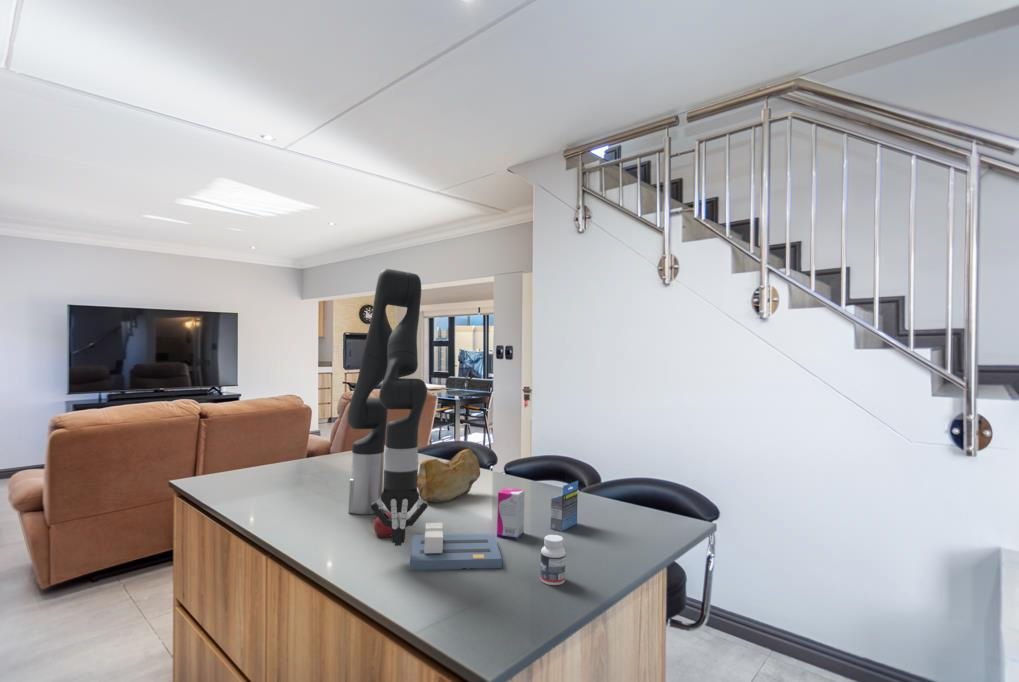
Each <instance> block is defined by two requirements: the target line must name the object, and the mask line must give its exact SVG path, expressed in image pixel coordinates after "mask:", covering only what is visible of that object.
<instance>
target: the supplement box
mask: <svg viewBox="0 0 1019 682" xmlns="http://www.w3.org/2000/svg"><path fill="white" fill-rule="evenodd" d="M525 493H526V492H525V489H520V488H519V489H517V488H509V487H508V488H507V487H505V488H503V489H502V490H500V491H498V492H497V519H496V520H497V521H496V522H497V523H496V526H497V527H496V537H497V538H503V537H504V538H503V539H510V538H511V540H518V539H519V538H521V536H522V535H523V534H524V533H525V529H524V528H525V525H524V523H525Z"/></svg>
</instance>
